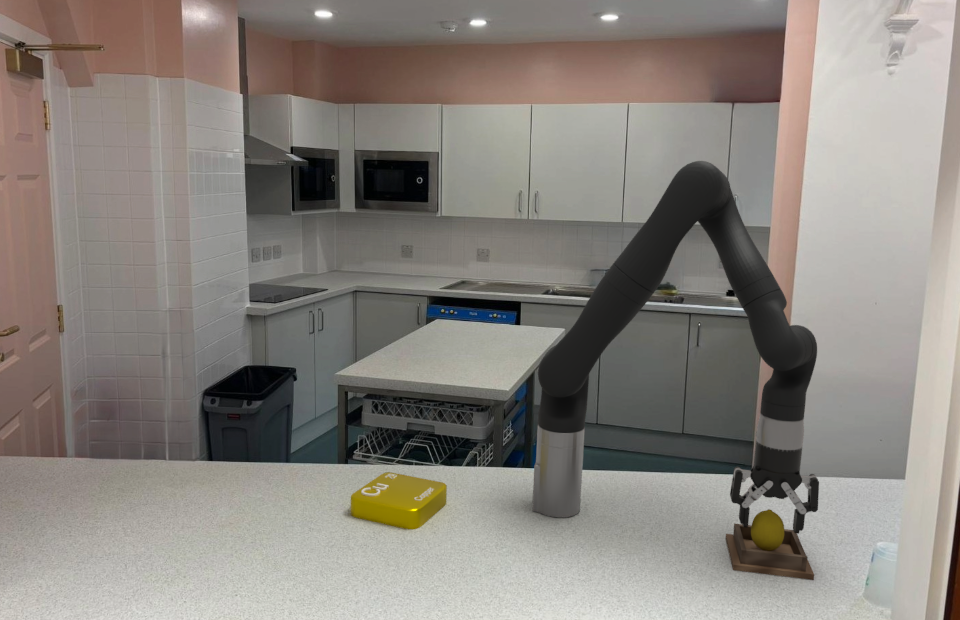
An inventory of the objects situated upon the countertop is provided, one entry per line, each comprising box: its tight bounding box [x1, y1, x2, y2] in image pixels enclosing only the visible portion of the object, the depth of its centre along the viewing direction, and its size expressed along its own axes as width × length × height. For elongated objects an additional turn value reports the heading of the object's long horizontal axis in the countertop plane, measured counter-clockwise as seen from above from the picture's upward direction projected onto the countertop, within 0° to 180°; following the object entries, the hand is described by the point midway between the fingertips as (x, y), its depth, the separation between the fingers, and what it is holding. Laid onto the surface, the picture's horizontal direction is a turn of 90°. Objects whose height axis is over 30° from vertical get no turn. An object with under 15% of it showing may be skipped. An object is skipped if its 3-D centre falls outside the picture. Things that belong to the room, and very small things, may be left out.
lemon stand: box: [725, 522, 815, 581], centre depth 136 cm, size 13×12×4 cm
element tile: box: [350, 471, 447, 530], centre depth 152 cm, size 15×15×5 cm
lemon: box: [751, 509, 785, 551], centre depth 136 cm, size 6×6×8 cm
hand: (770, 528), depth 136 cm, fingers open, 8 cm apart
